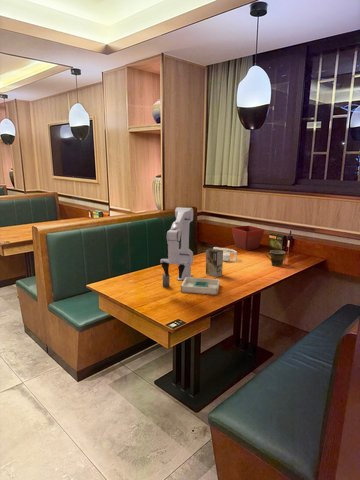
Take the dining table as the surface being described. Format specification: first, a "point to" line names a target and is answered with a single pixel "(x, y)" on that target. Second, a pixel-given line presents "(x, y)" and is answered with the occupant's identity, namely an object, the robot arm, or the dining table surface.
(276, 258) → the ceramic cup
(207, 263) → the coffee box
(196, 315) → the dining table surface
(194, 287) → the walled box
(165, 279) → the cylinder
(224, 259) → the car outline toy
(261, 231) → the plant pot
